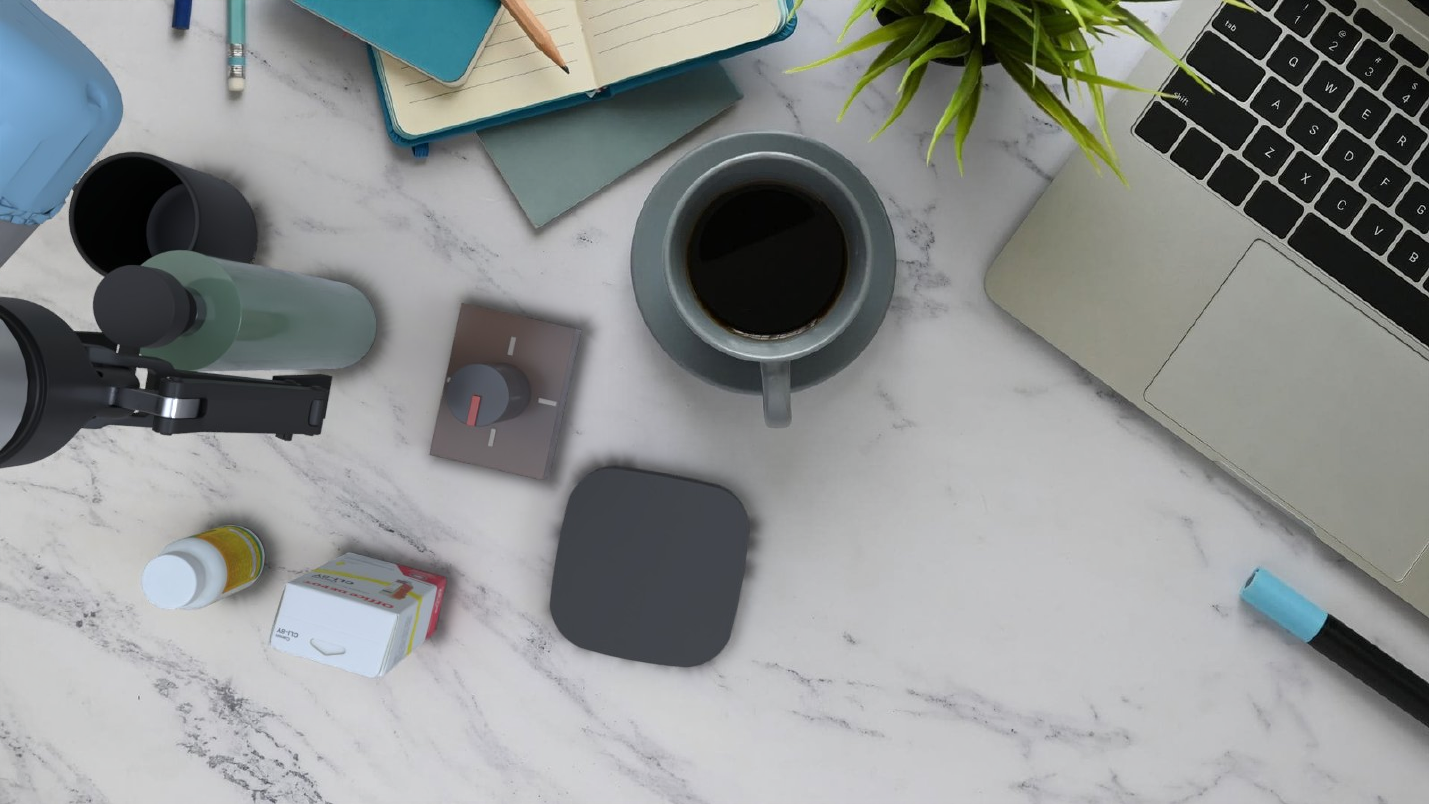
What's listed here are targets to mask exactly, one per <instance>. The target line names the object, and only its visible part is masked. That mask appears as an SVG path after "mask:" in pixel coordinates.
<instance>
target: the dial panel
mask: <svg viewBox="0 0 1429 804" xmlns="http://www.w3.org/2000/svg"><path fill="white" fill-rule="evenodd" d="M581 334H582V329H580V328H577V327H571V326H567V325H562V324H558V323H553V322H549V321H543V320H540V319H536V318H531V317H526V316H522V315H518V314H513V313H510V312H504V311H500V310H496V309H491V308H487V307H484V306H478V305H473V304H469V303H465V302H461V304H460V309H459V314H458V317H457V323H456V327H455V332H454V337H453V341H452V346H451V350H450V355H449V361H448V365H447V370H446V374H445V380H444V384H443V389H442V394H441V397H440V398H441V399H440V403H439V408H438V412H437V417H436V421H435V427H434V431H433V436H432V441H431V445H430V451H429V456H433V457H437V458H442V459H447V460H451V461H455V462H460V463H463V464H469V465H474V466H477V467H478V466H479V467H482V468H487V469H491V470H495V471H499V472H505V473H509V474H513V475H518V476H521V477H522V476H523V477H526V478H531V479H536V480H539V481H544V480H545V479H547V478H548V477H550V476H551V471H552V467H553V462H554V459H555V454H556V448H557V445H558V439H559V435H560V430H561V426H562V420H563V417H564V411H565V409H566V402H567V398H568V394H569V389H570V385H571V380H572V375H573V371H574V365H575V361H576V357H577V352H578V347H579V343H580V338H581ZM475 363H505V364H510V365H513V366H515V367H517V368H518V369H520V370H521V371H522V372H523V373H524V375H525V376H526V378H527V379H528V382H529V385H530V399H529V403H528V405H527V407H526V408H525V410H524V411H523V412H522V413H521V414H520V415H518V416H517V417H515V418H512V419H509V420H506V421H502V422H498V423H494V424H491V425H487V426H482V427H474V426H469V425H466V424H464V423H462V422H461V421H459V420H458V419H457V418H456V417H455V416H454V415H453V414H452V412H451V411H450V409H449V406H448V404H447V399H446V391H447V386H448V383H449V381H450V379H451V377H452V376H453V375H454V373H456V372H457V371H458V370H459V369H460V368H462V367H464V366H466V365H469V364H475Z"/></svg>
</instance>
